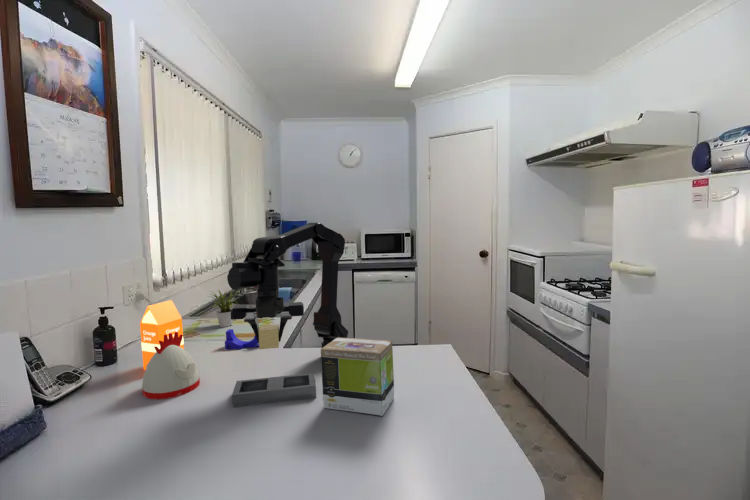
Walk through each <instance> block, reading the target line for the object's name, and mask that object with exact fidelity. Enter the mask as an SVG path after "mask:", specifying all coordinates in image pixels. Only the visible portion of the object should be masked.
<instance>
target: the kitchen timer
mask: <svg viewBox="0 0 750 500" xmlns="http://www.w3.org/2000/svg"><path fill="white" fill-rule="evenodd" d="M182 337H183V338H184V334H183V335H181V334H180V336H179V337H178V332H175V334H174V339H173V336H172V333H169V339H168V337H167V335H164V342H163V341H160V340H159V344H160V349H159V348H158V347H155V346H154V348H155V350H156V353H155V354H154V355H153V357H152V358H151V359H150V361H149V363H148V364H147V365H146V370H144V375H143V377H142V378H143V379H142V384H141V388H142V395H143V397H144V398H147V399H151V400H166V399H172V398H176V397H179V396H183V395H185V394H188V393H191V392H192V391H194V390H196V389H197V388H198V387H199V386H200V384H201V381H200V377H201V376H200V373H199V371H198V368H197V366H196V363H195V361H194V359H193V357H192V356H191V354H190V353H189V352H188V351H187V350H186V349H185V348H184V349H183V348H181V347H180V344H181V341H182Z"/></svg>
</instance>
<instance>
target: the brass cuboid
mask: <svg viewBox="0 0 750 500" xmlns="http://www.w3.org/2000/svg"><path fill="white" fill-rule="evenodd" d="M279 328H280V324H268V325H260V326H259V347H258V349H259V350H267V349H279V348H280V342H281V341H280V342H279Z"/></svg>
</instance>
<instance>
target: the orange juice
mask: <svg viewBox="0 0 750 500" xmlns="http://www.w3.org/2000/svg"><path fill="white" fill-rule="evenodd" d="M139 329H140V341H141V343H140V344H141V353H142V366H143V370H144V371H145V370H146V365H147V364H148V363H149V361H150V359H151V358H152V357H153V355H154V354H155V353H156V350H155V348H154V346H155V347H158V348H159V349H160V344H159V340H160V341H163V342H164V335H167V337H168V339H169V333H172V336H173V339H174V334H175V332H178V337H179V336H180V334H181V335H183V337H182V341H181V344H180V347H181V348H183V349H184V350H185V340H184V331H183V318H182V316H181V314H180V312H179V310H178V309H177V307H176V306H175V303H174V302H173V300H172V299H170V300H166V301H162V302H159V303H154V304H150V305H147V306H146V309H145V311H144V313H143V316H142V317H141V320H140V322H139Z"/></svg>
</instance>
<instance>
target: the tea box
mask: <svg viewBox="0 0 750 500" xmlns="http://www.w3.org/2000/svg"><path fill="white" fill-rule="evenodd" d="M393 351H394V350H393V340H388V339H387V340H386V339H385V340H384V339H371V338H357V337H356V338H355V337H353V338H352V337H351V338H350V337H347V338H340V337H337V338H336V339H334V340H333V341H332V342H330V343H329V344H327V345H326V346H324V347H323V348H321V347H320V360H321V361H320V363H321V364H320V365H321V384H322V385H321V387H322V401H323V402H322V404H323V408H324V409H331V410H337V411H338V410H339V411H346V412H350V413H351V412H353V413H361V414H368V415H375V416H381V417H382V416H384V414H385V412H386V411H387V410H388V408H389V407H390V405H391V403H392V402H393V401H394V399H395V382H394V381H395V378H394V377H395V374H394V356H393V355H394V354H393Z"/></svg>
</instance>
